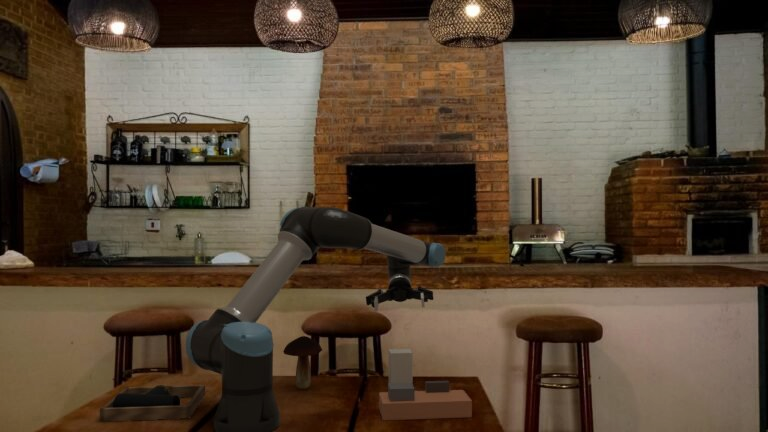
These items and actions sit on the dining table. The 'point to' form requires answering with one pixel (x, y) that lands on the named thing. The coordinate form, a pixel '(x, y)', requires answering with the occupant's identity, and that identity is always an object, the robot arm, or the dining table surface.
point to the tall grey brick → (400, 366)
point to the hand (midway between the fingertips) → (399, 304)
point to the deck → (423, 402)
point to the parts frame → (154, 411)
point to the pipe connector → (148, 398)
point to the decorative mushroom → (303, 358)
